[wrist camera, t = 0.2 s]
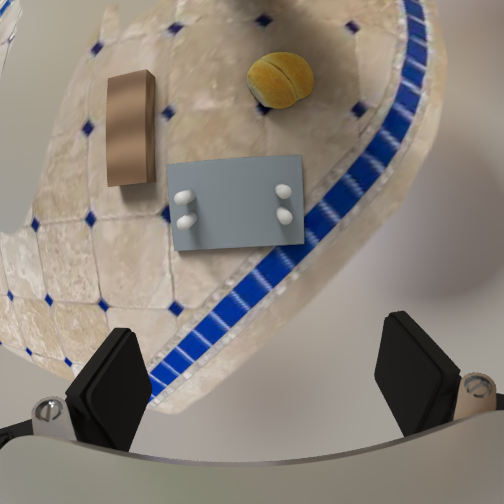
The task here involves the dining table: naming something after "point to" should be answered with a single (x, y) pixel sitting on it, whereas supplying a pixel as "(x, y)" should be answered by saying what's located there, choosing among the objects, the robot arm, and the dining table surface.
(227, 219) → the peg stand
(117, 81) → the brown wooden block
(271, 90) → the bread roll
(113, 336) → the robot arm
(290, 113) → the dining table surface
